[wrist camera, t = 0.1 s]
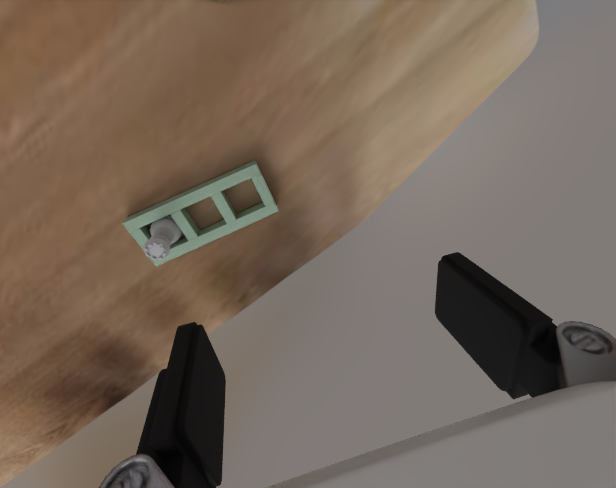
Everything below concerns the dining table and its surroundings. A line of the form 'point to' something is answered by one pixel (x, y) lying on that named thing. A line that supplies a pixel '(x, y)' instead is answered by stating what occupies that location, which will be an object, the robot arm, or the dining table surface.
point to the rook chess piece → (162, 238)
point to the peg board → (210, 188)
